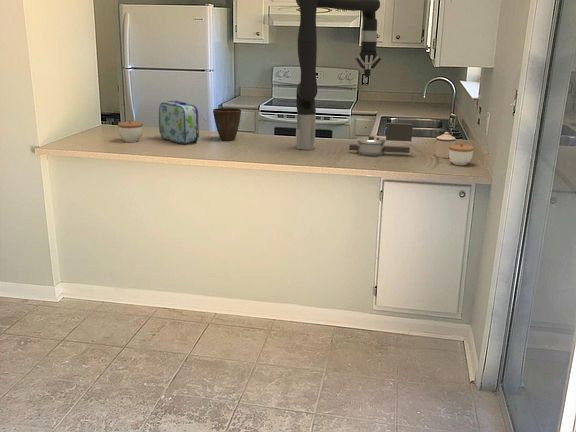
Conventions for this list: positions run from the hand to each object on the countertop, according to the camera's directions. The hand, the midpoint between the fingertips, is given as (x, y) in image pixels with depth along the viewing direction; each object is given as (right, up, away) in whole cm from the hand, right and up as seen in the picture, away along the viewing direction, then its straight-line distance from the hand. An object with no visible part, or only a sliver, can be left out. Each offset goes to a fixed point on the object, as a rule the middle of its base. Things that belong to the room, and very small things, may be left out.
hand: (367, 77), depth 291 cm
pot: (+5, -38, -4) cm, 39 cm away
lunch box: (-96, -30, +18) cm, 102 cm away
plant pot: (-71, -28, +25) cm, 81 cm away
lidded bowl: (-121, -30, +17) cm, 126 cm away
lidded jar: (+39, -45, -23) cm, 64 cm away
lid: (+7, -33, -7) cm, 34 cm away
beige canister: (+36, -40, -7) cm, 54 cm away
